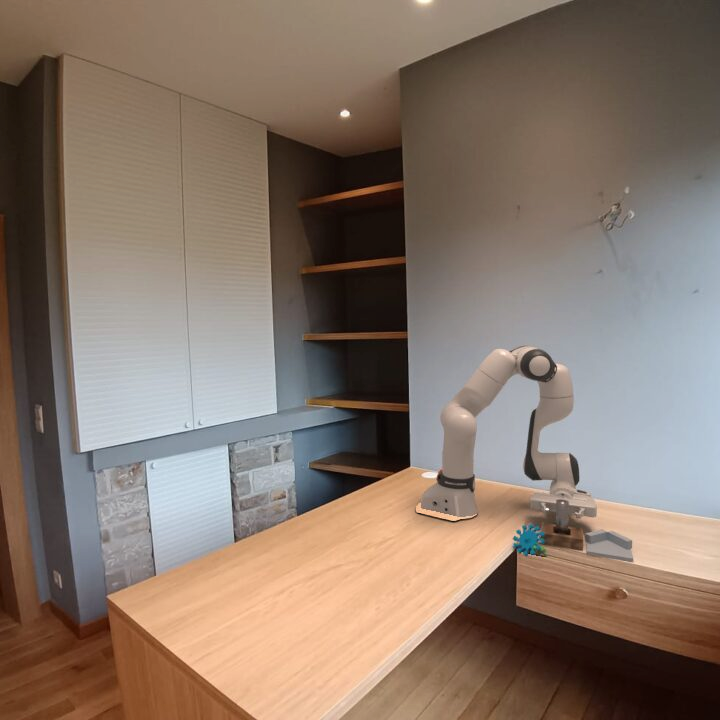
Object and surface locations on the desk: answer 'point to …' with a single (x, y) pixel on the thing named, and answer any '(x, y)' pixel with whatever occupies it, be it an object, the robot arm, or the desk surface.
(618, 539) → the v block
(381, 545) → the desk surface
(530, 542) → the blue spiky virus model
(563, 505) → the axle
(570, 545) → the brown slotted block
